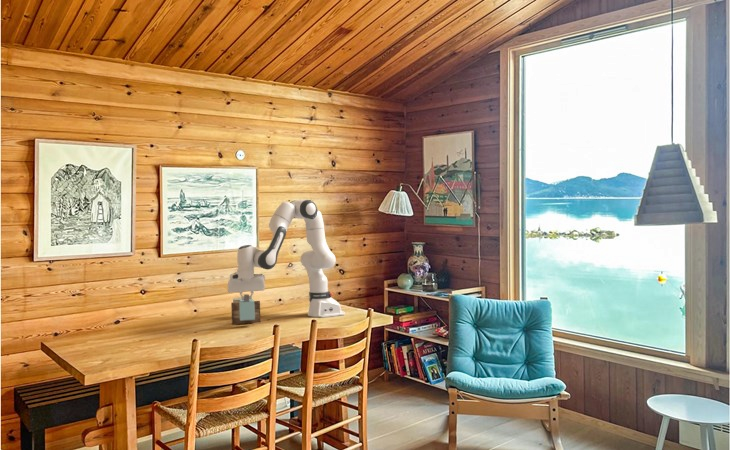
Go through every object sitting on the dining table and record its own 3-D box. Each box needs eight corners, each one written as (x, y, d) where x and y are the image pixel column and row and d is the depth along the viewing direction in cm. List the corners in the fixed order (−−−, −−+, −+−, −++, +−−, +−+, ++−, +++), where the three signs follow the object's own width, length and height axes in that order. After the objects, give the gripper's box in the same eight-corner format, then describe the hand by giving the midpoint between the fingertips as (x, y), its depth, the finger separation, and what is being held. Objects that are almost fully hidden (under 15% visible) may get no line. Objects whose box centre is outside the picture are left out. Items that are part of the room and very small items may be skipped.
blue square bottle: (253, 316, 332) (253, 293, 331) (255, 319, 323) (254, 295, 323) (239, 317, 330) (238, 293, 329) (240, 320, 321) (239, 296, 321)
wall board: (260, 321, 339) (259, 300, 338) (261, 323, 333) (260, 302, 333) (231, 323, 335) (231, 302, 334) (232, 325, 329) (231, 304, 328)
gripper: (264, 273, 329) (265, 297, 330) (227, 275, 324) (227, 299, 325) (265, 274, 323) (266, 299, 324) (227, 276, 318) (228, 301, 318)
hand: (246, 299), depth 324 cm, fingers closed on blue square bottle, 2 cm apart
